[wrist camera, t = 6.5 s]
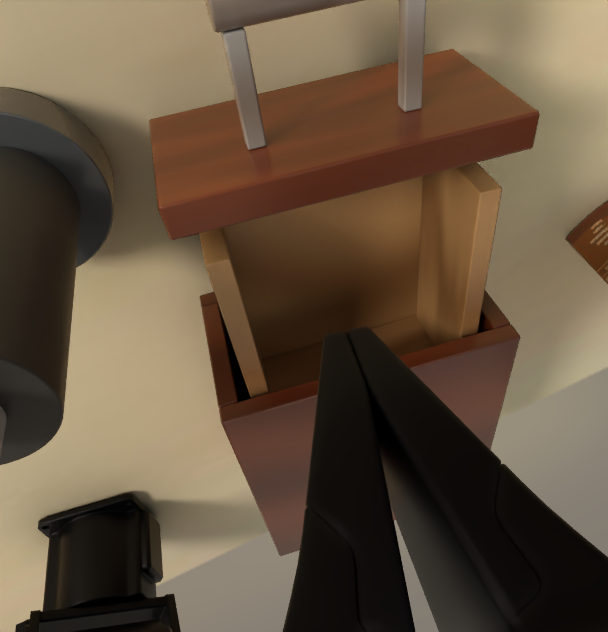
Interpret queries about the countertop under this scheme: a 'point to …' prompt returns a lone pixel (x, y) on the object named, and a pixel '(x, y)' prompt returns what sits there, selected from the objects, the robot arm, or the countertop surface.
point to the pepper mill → (34, 299)
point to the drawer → (340, 196)
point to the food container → (593, 240)
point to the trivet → (63, 158)
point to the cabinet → (300, 402)
